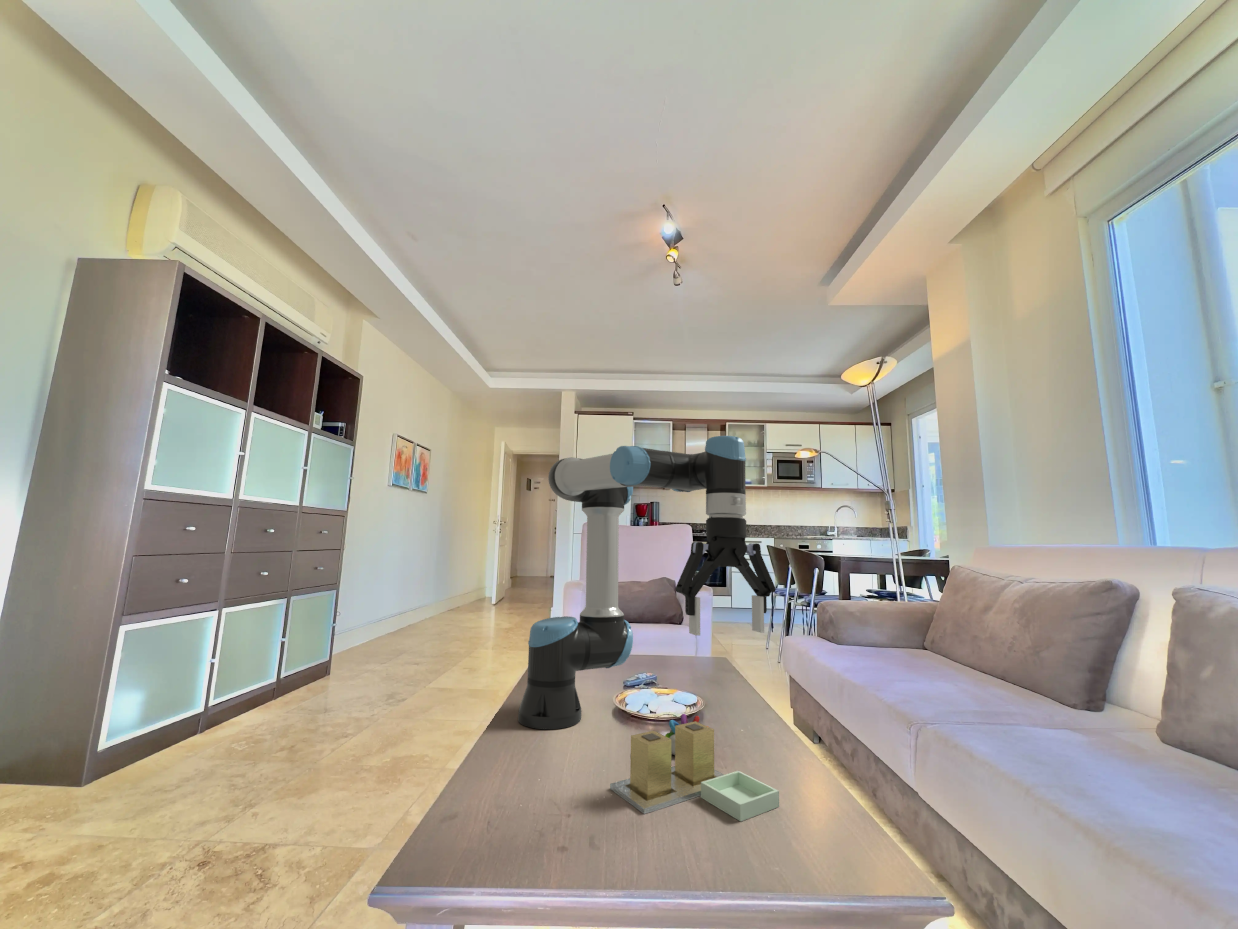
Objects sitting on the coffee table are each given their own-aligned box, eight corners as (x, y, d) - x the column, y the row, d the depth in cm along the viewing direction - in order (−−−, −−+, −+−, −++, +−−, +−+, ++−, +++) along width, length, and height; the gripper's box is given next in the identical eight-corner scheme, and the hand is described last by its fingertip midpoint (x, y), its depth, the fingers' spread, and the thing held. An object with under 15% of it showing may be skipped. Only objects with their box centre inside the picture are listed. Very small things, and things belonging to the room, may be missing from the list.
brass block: (630, 791, 89) (631, 734, 90) (653, 784, 92) (653, 729, 93) (647, 803, 85) (648, 744, 86) (671, 796, 87) (671, 738, 89)
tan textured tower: (675, 778, 94) (675, 725, 96) (695, 772, 97) (695, 720, 98) (693, 789, 90) (693, 733, 92) (714, 782, 93) (713, 728, 94)
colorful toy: (711, 762, 102) (710, 723, 103) (662, 757, 104) (662, 719, 105) (712, 746, 110) (711, 710, 111) (666, 742, 112) (667, 706, 113)
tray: (700, 797, 87) (700, 782, 87) (738, 785, 92) (738, 770, 92) (740, 821, 80) (740, 804, 80) (779, 806, 85) (779, 790, 85)
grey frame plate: (610, 788, 90) (610, 783, 90) (696, 764, 100) (696, 760, 101) (644, 814, 81) (644, 808, 81) (734, 784, 92) (734, 779, 92)
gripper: (676, 513, 91) (676, 639, 87) (792, 518, 99) (796, 633, 96) (658, 515, 97) (657, 632, 94) (768, 520, 106) (770, 627, 103)
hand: (727, 633), depth 95 cm, fingers open, 13 cm apart
